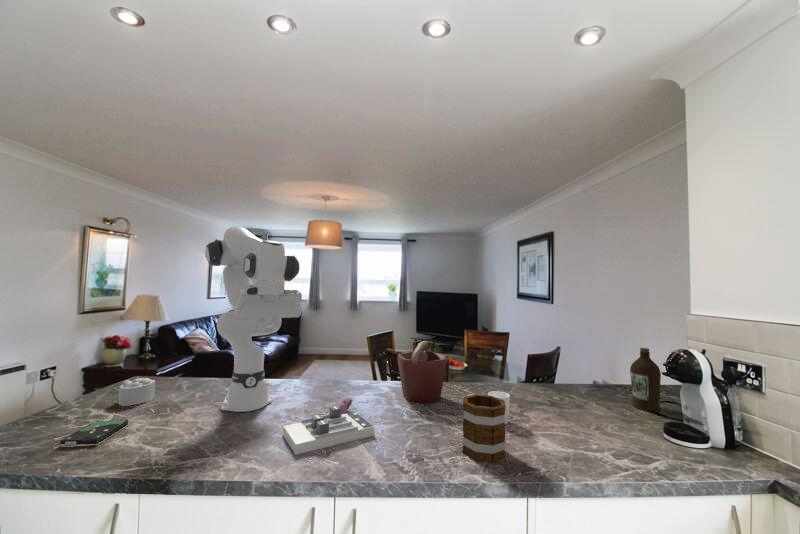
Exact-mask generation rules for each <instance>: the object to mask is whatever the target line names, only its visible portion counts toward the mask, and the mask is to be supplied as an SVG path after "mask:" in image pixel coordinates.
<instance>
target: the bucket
mask: <svg viewBox="0 0 800 534" xmlns="http://www.w3.org/2000/svg"><path fill="white" fill-rule="evenodd" d="M433 344H434V341H432V340H422V341H420V342H418V344H417V346H416V347H415V349H414V350H413V351H412V350H411V351H407V352H402V353H400V354H397V366H398V371H399V376H400V377H399V378H400V384H401V390H402V395H403V398H404V397H405V398H404V399H405V400H406V401H407V403H411V402H412V403H411V404H417V403H418V405H424V406H425V405H431V404H436V403H437V402H438V403H440V401H441V397H442V396H441V395H442V391H443V390H442V389H443V386H444V380H445V379H444V378H445V374H446V369H447V364H448V363H447V362H448V355H447V354H443V353H439V352H434V351H432V350H431V347H432V345H433ZM422 350H423V351H422Z"/></svg>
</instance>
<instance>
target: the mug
mask: <svg viewBox="0 0 800 534" xmlns="http://www.w3.org/2000/svg"><path fill="white" fill-rule="evenodd" d="M462 406H463V421H462V435H463V440H462V441H463V444H462V445H463V446H462V454H463V455H464V456H467V457H468V458H469V459H471V460H472V461H475V462H481V463H488V462H489V464H495V463H498V462H501V461H503V460H505V459H506V450H505V448H506V445H505V444H506V443H505V442H506V424H505V408H506V406H505V401H504V400H501V399H499V398H496V397H493V396H488V394H487V395H485V394H474V393H470V394H467V395H465V396H463V400H462ZM500 460H501V461H500Z"/></svg>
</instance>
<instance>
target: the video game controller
mask: <svg viewBox="0 0 800 534" xmlns="http://www.w3.org/2000/svg"><path fill="white" fill-rule="evenodd" d="M352 403H353V399H351V398H349V397H347V398H344V399H342V401H341V403H340V404H339V405H338V406H339V407H340V408H341V414H346V413H348V412H349V410H348V409H349V408H350V407H351V405H352Z"/></svg>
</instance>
